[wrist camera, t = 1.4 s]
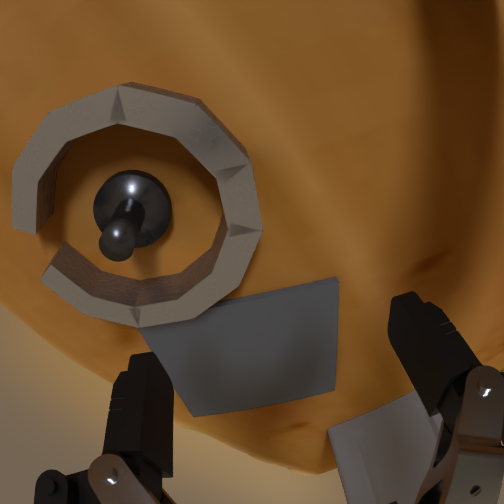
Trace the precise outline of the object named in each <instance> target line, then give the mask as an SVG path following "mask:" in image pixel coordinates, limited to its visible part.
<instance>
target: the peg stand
mask: <svg viewBox="0 0 504 504" xmlns="http://www.w3.org/2000/svg"><path fill="white" fill-rule="evenodd" d="M93 212H94V218H95V221H96V223H97V225H98V227H99V229H100V230H101V232H102V235H101V237H100V239H99V248H100V250H101V252H102V254H103V255H104V256H105V257H107V258H108V259H110V260H112V261H118V262H119V261H125V260H127V259H128V258H129V257H130V256H131V255H132V253H133V250H134V248H139V247H144V246H148V245H150V244H152V243H154V242H155V241H157V240H158V239H159V238H160V237H161V236H162V235H163V234H164V232H165V231H166V229H167V227H168V224H169V220H170V215H171V200H170V196H169V194H168V192H167V190H166V188H165V187H164V185H163V184H162V183H161V182H160V181H159V180H158V179H157V178H155V177H154V176H152V175H150V174H148V173H146V172H143V171H138V170H126V171H121V172H119V173H116V174H114V175H113V176H111V177H110V178H109V179H108V180H107V181H106V182H105V183H104V184H103V186H102V187H101V188H100V190H99V191H98V193H97V195H96V197H95V200H94V206H93Z"/></svg>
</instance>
